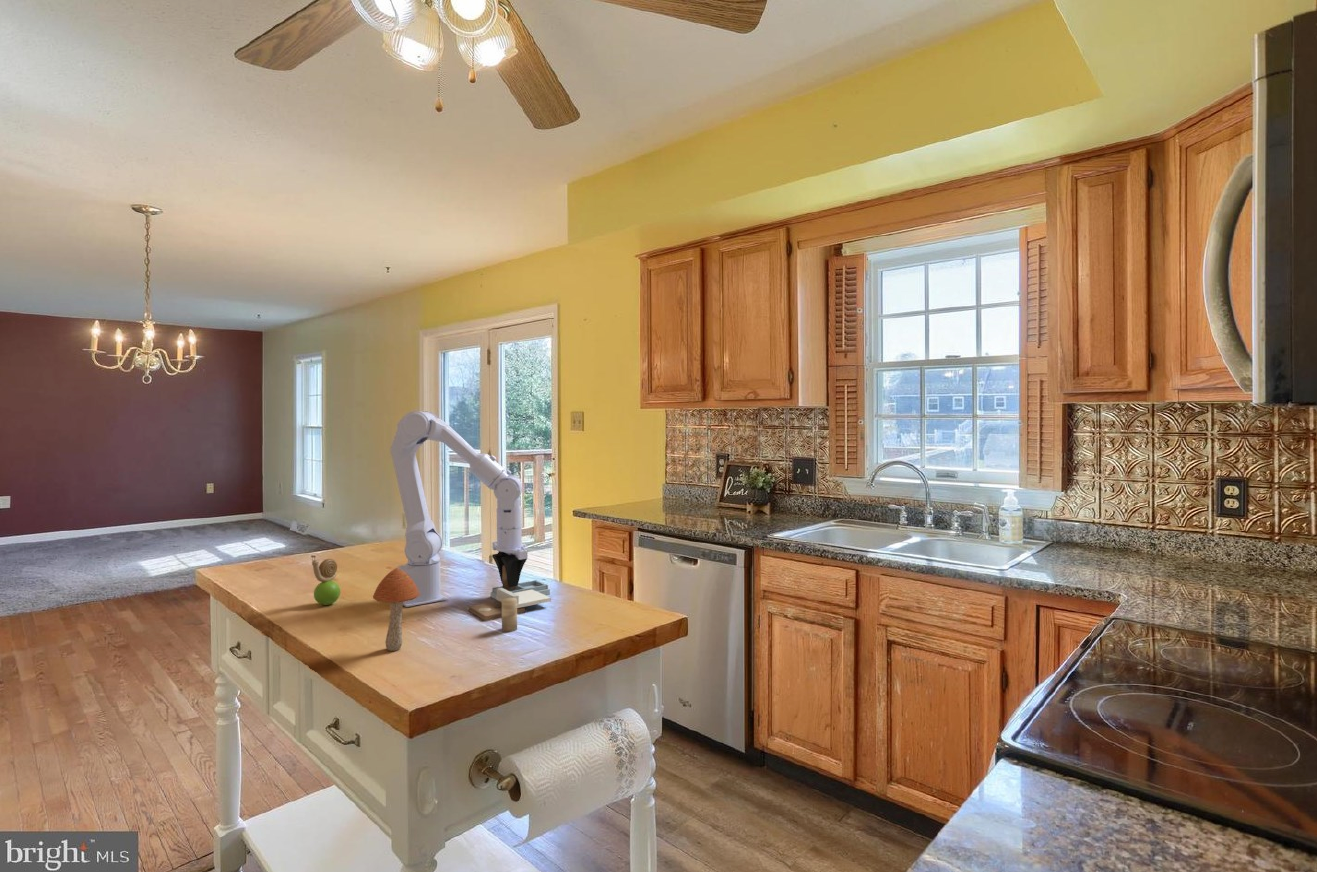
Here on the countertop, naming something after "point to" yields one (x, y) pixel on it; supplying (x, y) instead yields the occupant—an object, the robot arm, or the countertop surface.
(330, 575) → the snail figurine
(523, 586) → the socket board
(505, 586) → the walnut peg
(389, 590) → the mushroom
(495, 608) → the board
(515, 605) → the maple peg
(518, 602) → the cover
